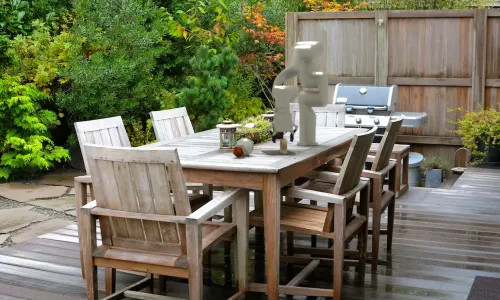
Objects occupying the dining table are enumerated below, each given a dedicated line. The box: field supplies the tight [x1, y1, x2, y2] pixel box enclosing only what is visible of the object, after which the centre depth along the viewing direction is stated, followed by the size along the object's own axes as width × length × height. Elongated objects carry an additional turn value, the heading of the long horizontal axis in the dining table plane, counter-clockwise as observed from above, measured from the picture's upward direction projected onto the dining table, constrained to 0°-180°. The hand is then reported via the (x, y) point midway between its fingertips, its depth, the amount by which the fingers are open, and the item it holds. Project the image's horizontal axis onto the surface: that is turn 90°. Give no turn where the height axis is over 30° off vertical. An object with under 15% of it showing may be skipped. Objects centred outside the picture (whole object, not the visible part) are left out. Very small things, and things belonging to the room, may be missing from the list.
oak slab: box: [279, 138, 288, 153], centre depth 378 cm, size 7×2×6 cm
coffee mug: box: [270, 121, 288, 140], centre depth 448 cm, size 12×9×10 cm
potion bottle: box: [232, 137, 255, 159], centre depth 369 cm, size 9×10×15 cm
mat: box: [261, 149, 296, 156], centre depth 382 cm, size 16×14×1 cm
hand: (282, 142), depth 382 cm, fingers open, 9 cm apart
